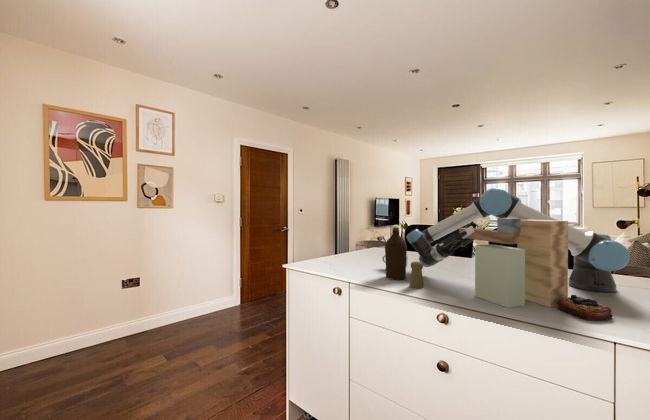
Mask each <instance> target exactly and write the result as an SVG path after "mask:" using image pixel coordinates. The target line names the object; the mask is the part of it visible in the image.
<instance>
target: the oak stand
mask: <svg viewBox="0 0 650 420" xmlns="http://www.w3.org/2000/svg"><path fill="white" fill-rule="evenodd" d="M556 220H557V219H556ZM556 220H521V233H520V234H519V244H516V248H520V249H525V301H528V302H529V301H530V302H532V303H535V304H539V305H541V306H544V307H548V308H553V307H558V306H557V305H559V304H557V302H558V300H559V299H560V298H563V297H564V298H565V297H566V298H568V297H569V296H568V295H569V290H568V289H569V249H568V225H569V220H559V221H556Z"/></svg>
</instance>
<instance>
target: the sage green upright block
mask: <svg viewBox="0 0 650 420" xmlns="http://www.w3.org/2000/svg"><path fill="white" fill-rule="evenodd" d="M474 248H475V249H474V254H475V255H474V259H475V261H474V265H475V266H474V270H475V271H474V296H475V297H477V298H479V299H482V300H485V301H488V302H491V303H494V304H497V305H499V306H502V307H503V308H507V309H510V308H516V307H517V308H518V307H524V306H526V300H525V249H520V248H517V247H512V246H505V245H498V244H492V243H491V244H475V245H474Z"/></svg>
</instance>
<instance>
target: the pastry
mask: <svg viewBox="0 0 650 420" xmlns="http://www.w3.org/2000/svg"><path fill="white" fill-rule="evenodd" d="M557 304H559V305H557V306H556V307H557V310H558V311H561V312H562V313H566V314H568V315H570V316H572V317H576V318H578V319H582V320H585V321H590V322H591V321H592V322H602V321H603V322H605V321H609V320H612V319H613V317H614V316H613V314H612V308H611V307H610V306H608V305H606V304H602V303H598V301H597V300H595V299H592V298H585V297H582V296H577V294H571V295H570V297H569V296H568V298H566V297H565V298H564V297H563V298H560V299H559V300H558V302H557Z"/></svg>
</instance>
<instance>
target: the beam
mask: <svg viewBox="0 0 650 420" xmlns="http://www.w3.org/2000/svg"><path fill="white" fill-rule="evenodd" d="M496 218H497V217H496ZM496 220H497V221H496V223H497V224H496V225H497V226H496V227H497V228H496V230H492V229H484V228H483V229H476V228H473V229H474V231H475V232H474V233H472V234H471V235H469V236H468V237H466V238H467V239H475V240H476V241H477V240H478V241H484V242H491V243H499V244H506V245H517V244H519V234H520V233H521V218H497V219H496ZM467 228H468V227H461V228H459V229H458V233H461V232H462V231H464V230H465V229H467ZM475 240H474V241H475Z"/></svg>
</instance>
